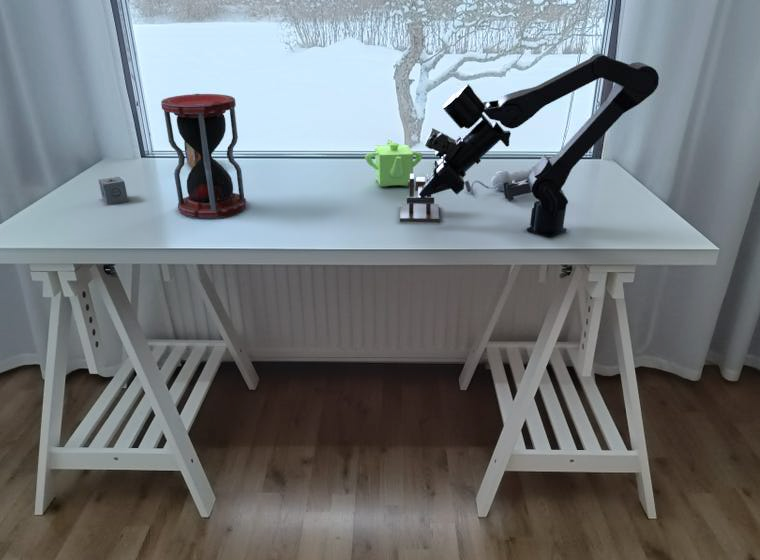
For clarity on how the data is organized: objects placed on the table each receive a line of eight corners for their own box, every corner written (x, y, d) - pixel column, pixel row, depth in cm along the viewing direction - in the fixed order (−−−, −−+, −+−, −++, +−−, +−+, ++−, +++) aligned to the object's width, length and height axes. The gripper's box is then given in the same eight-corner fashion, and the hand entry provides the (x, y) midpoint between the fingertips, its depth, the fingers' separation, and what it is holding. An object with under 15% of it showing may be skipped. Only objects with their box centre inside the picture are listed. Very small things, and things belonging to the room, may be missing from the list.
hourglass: (178, 221, 151) (160, 107, 138) (178, 201, 164) (161, 94, 152) (249, 215, 155) (237, 103, 142) (243, 196, 168) (232, 92, 155)
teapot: (399, 195, 169) (399, 153, 164) (357, 186, 176) (356, 145, 170) (429, 181, 180) (430, 141, 175) (388, 173, 186) (388, 135, 181)
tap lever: (433, 207, 144) (434, 196, 143) (406, 206, 144) (406, 196, 143) (433, 186, 153) (433, 177, 152) (407, 186, 153) (407, 176, 152)
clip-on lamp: (466, 210, 168) (537, 198, 164) (462, 186, 164) (535, 173, 160) (467, 192, 177) (534, 180, 173) (463, 169, 174) (532, 157, 170)
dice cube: (107, 204, 162) (103, 184, 159) (102, 199, 165) (98, 179, 163) (128, 201, 164) (124, 181, 162) (122, 196, 168) (118, 176, 165)
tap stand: (439, 223, 150) (441, 183, 145) (399, 223, 151) (400, 182, 146) (438, 208, 160) (439, 170, 155) (401, 208, 160) (401, 169, 155)
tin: (185, 161, 198) (181, 132, 194) (196, 160, 199) (192, 131, 195) (195, 173, 186) (191, 143, 182) (206, 172, 188) (202, 141, 183)
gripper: (447, 107, 143) (396, 158, 149) (451, 125, 127) (393, 181, 133) (480, 145, 147) (429, 193, 153) (488, 167, 131) (430, 219, 137)
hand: (420, 195), depth 144 cm, fingers closed, pressing on tap lever
